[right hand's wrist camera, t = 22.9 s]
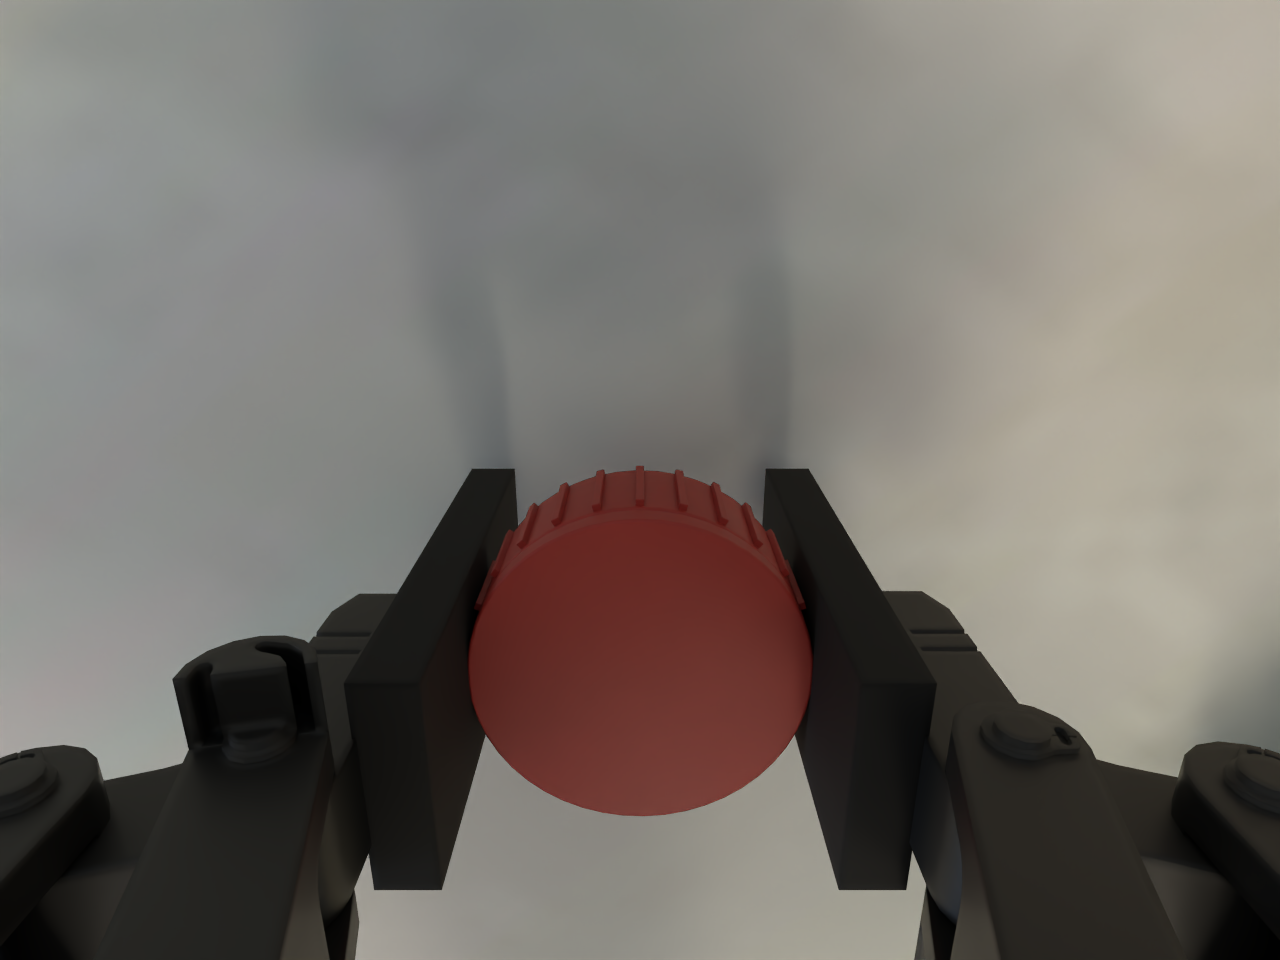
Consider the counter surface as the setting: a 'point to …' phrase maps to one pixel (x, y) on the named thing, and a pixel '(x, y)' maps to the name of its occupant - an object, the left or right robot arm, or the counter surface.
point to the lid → (640, 645)
